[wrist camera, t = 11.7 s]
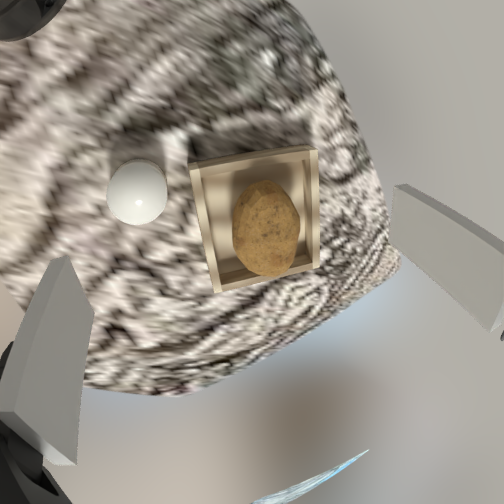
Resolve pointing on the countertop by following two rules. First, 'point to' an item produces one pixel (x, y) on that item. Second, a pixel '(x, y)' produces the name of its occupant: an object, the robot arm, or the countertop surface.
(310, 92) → the countertop surface
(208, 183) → the tray
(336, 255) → the countertop surface
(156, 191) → the white rounded piece
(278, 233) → the potato
